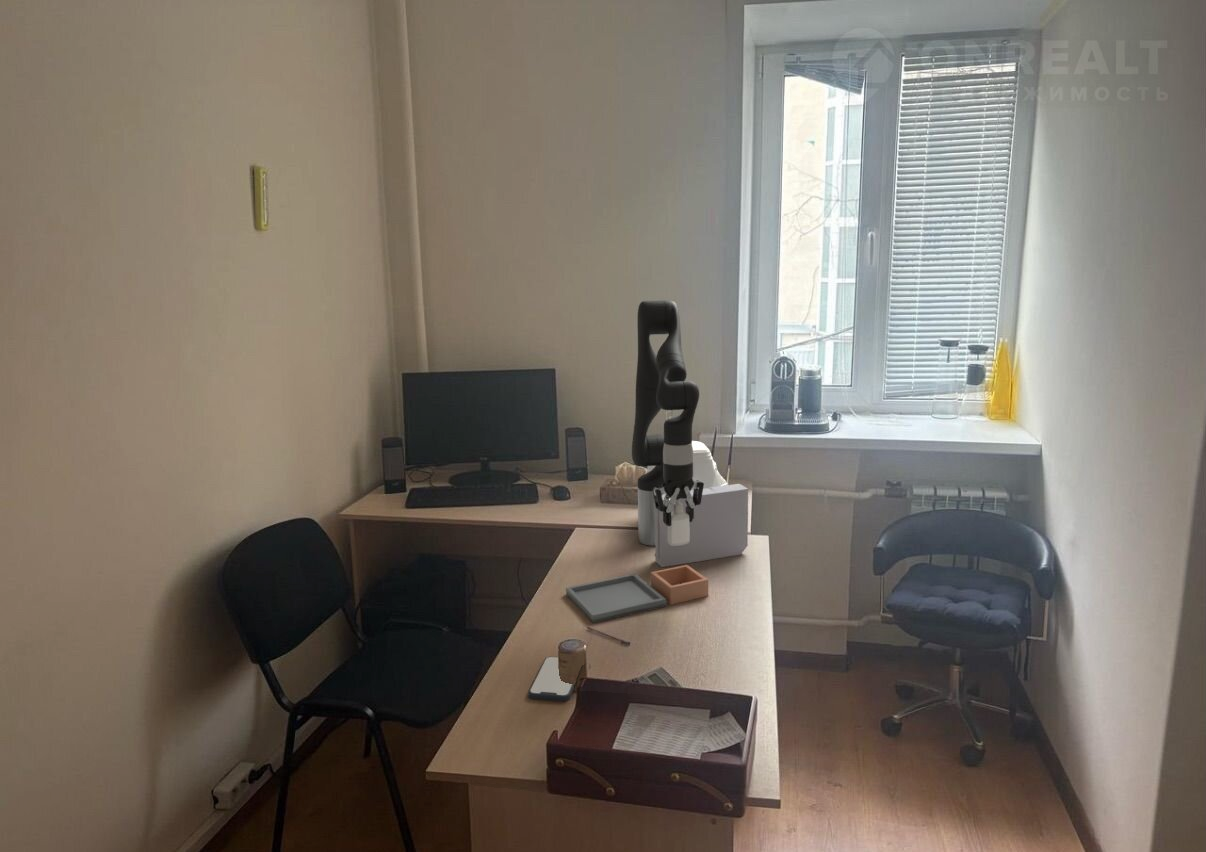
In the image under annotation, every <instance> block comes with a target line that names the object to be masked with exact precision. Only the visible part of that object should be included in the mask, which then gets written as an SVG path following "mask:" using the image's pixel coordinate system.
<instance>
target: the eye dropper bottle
mask: <svg viewBox="0 0 1206 852" xmlns="http://www.w3.org/2000/svg"><path fill="white" fill-rule="evenodd" d="M667 528H668V544H670V545H671V546H679V545H684V544H687V543H689V541H690V521H689V515H688V514H687V513H686V512H683V504H682V503H681V502H680V499H678V500H677V501H676V503H674V512H673V513H671V526H667Z"/></svg>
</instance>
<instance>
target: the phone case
mask: <svg viewBox="0 0 1206 852" xmlns="http://www.w3.org/2000/svg"><path fill="white" fill-rule="evenodd" d="M558 657H559V656H547V657H545V658H544V660H543V661H542V663H541V666H540V668H539V670H538V672H537V673H536V676H535V678H534V680H533V682H532V683H531V686H530V687H529V689H528V698H529V699H530V700H535V701H537V700H538V701H549V702H562V703H563V702H564V703H566V702H568V701H569V700H570V699H571V697H572V694H573V691H574V690H575V688H574V685H573V684H569V683H565V682H563V681H561V679H560V676H559V669H558Z"/></svg>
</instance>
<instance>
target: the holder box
mask: <svg viewBox="0 0 1206 852" xmlns="http://www.w3.org/2000/svg"><path fill="white" fill-rule="evenodd" d="M680 583H681V584H680ZM650 586H651V587H652V588H653V589H655V590H656V591H657V592H658V593H659V594H661V595H662V596H663V597H664V598H666V603H668V604H669V605H675V604H679V603H683V602H687V601H692V600H696V599H700V598H705V597H708V596H709V579H708V578H707V577H705V576H704V575H703V574H701V573H699V572H698V571H697V570H695V569H694V568H693V567H691V566H689V565H688V564H682V565H680V566H679V565H678V566H675V567H674V566H673V567H669V568H666V569H661V570H655V571H651V572H650Z"/></svg>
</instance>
